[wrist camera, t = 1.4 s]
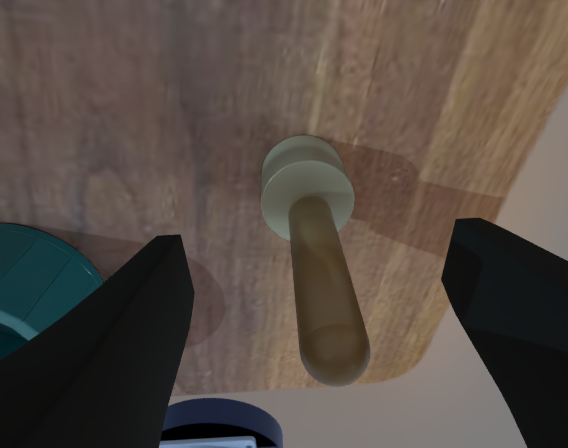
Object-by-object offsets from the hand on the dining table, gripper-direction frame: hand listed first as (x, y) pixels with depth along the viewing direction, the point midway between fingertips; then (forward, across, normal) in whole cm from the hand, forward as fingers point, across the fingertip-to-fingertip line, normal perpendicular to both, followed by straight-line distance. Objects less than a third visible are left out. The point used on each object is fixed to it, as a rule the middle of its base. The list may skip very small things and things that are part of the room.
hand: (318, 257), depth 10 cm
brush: (+6, 0, 0) cm, 6 cm away
